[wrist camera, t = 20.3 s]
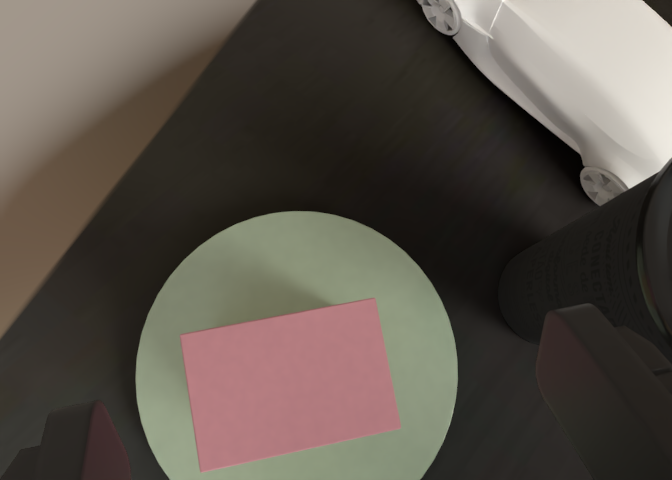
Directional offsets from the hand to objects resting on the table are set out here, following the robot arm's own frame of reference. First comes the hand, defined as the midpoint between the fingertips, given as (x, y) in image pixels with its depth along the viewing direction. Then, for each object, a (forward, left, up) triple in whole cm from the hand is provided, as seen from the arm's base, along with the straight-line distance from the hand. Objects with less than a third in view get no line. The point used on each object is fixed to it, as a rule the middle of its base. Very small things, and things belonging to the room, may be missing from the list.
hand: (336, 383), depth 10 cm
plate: (0, 0, -17) cm, 17 cm away
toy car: (-20, -2, -17) cm, 26 cm away
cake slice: (+1, 0, -15) cm, 15 cm away
